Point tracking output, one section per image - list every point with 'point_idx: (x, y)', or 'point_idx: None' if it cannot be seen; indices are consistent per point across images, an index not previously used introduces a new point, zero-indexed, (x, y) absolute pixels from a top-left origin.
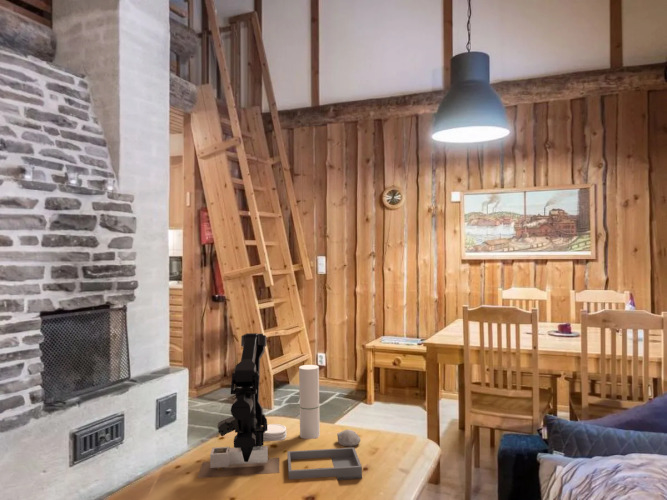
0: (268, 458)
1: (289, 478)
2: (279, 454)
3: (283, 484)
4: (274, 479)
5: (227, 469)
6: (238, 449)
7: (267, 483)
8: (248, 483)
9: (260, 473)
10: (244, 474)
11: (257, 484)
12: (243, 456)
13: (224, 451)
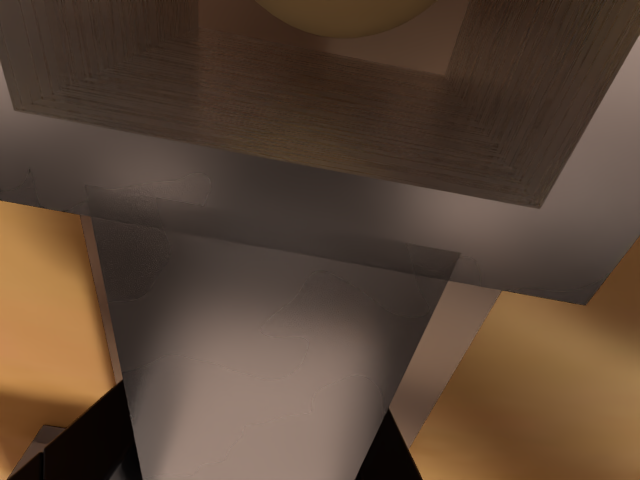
0: (410, 436)
1: (23, 458)
2: (507, 470)
3: (28, 403)
4: (99, 382)
5: (275, 41)
6: (253, 428)
7: (31, 340)
8: (12, 225)
9: (114, 350)
10: (93, 233)
11: (4, 284)
12: (121, 385)
13: (543, 59)
